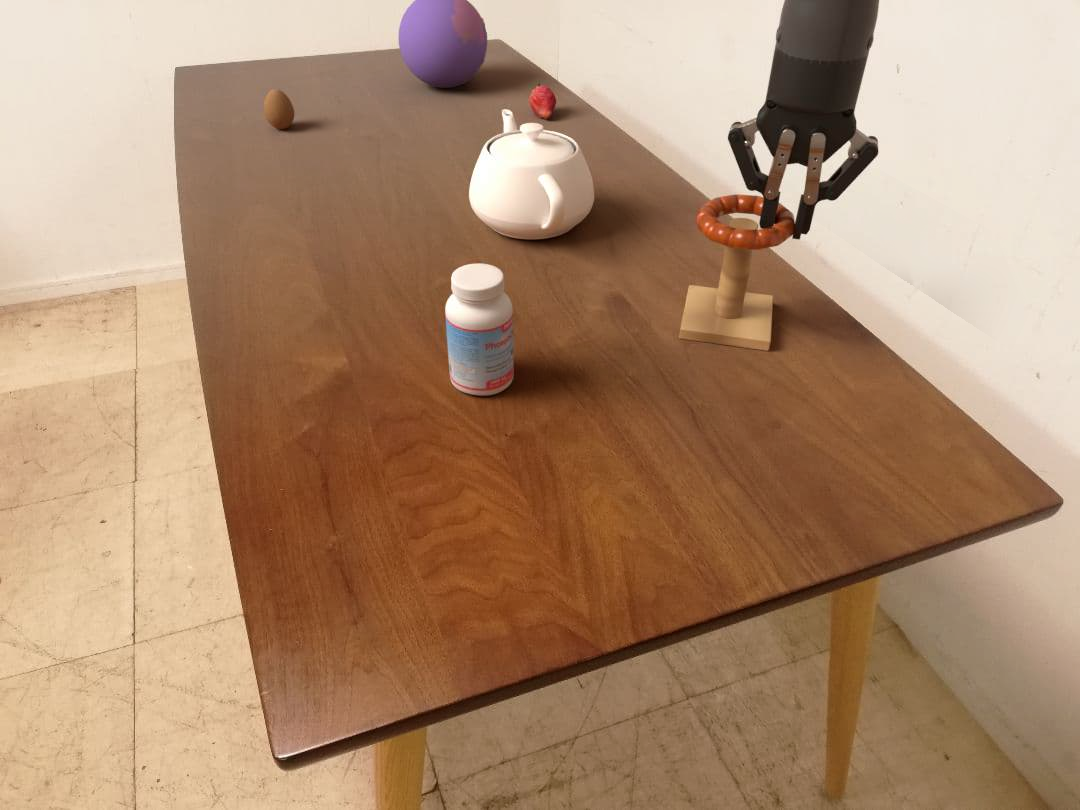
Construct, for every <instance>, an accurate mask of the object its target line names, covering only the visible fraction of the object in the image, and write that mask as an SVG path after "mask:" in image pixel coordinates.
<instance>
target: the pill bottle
mask: <svg viewBox="0 0 1080 810" xmlns="http://www.w3.org/2000/svg"><path fill="white" fill-rule="evenodd" d="M450 283H451V285H450V286H451V287H450V289H451V292H452V294H450V296H449V297H448V298H447V301H446V303H445V307H444V312H445V326H446V327H445V329H446V330H445V331H446V343H447V357H448V370H449V371H448V372H449V379H450V382H451V384H452V385H453V387H454V388H456V389H457V391H460V392H462V393H464V394H466V395H472V396H480V397H486V396H494V395H496V394H499V393H501V392H503V391H505V390H506V389H507V388H508V387H510V386H511V384H512V382H513V380H514V376H515V367H514V365H515V364H514V363H515V361H514V352H515V351H514V311H513V310H514V309H513V303H512V301H511V298H510V297H509V295H507V293H505V292H504V291H505V275H504V273H503V271H502V270H501V269H500V268H499V267H496V266H495V265H492V264H488V263H468V264H465V265H461V266H460V267H458V268H456V269H455V270H454V271H453V272H452V274H451V276H450Z"/></svg>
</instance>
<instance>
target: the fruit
mask: <svg viewBox="0 0 1080 810" xmlns="http://www.w3.org/2000/svg"><path fill="white" fill-rule="evenodd" d="M556 104H557V98H556V95H555V93H554V92H553V90H552V89H551V88H550V87H549V86H546V85H542V84H541V80H539V81H538V82H537V86H536V88H534V89H532V90H531V93H530V96H529V106H530V108H531V110H532V112H533V113H534V114H535V116H538V118H540V119H543V120H548V119H550V118H551V116H552V114H553V111H554V109H555V108H556Z"/></svg>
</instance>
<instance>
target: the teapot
mask: <svg viewBox="0 0 1080 810" xmlns="http://www.w3.org/2000/svg"><path fill="white" fill-rule="evenodd" d="M501 116H502V120H503V132H501V133H498V134H496V135H494V136H492V137H491V138H490V139H488V140H487V141H486V142H485V144H484V145H483V146H482V149H481V151H480V154H479V155H478V158H477V160H476V162H475V166H474V169H473V171H472V174H471V179H470V183H469V188H468V200H469V203H470V207H471V209H472V211H473V212H474V214H475V215H476V217H477V218H478V219H479V220H480V221H482V222H483V223H484V224H485V225H486V226H488V227H490V229H491V230H493V231H494V232H496V233H498V234H500V235H503V236H506V237H509V238H514V239H520V240H545V239H550V238H554V237H558V236H561V235H564V234H565V233H568V232H569V231H570V230H572V229H574V227H575V226H577V225H579V224H580V223H581V222H583V221H584V220H585V218H586V217H587V216H588V215H589V214H590V213H591V210H592V208H593V205H594V203H595V202H594V201H595V189H594V182H593V177H592V175H591V171H590V169H589V166H588V163H587V161H586V159H585V156H584V153H583V151H582V149H581V147H580V146H579V144H578V142H577V141H575V140H574V139H573V138H572V137H570V136H568V135H566V134H563V133H561V132H557V131H552V130H547V129H544V125H542V124H541V123H537V122H526V123H523V124H521V125H520V126H519V128H518V126H517V122H516V120H515V119H516V118H515V115H514V113H513V112H512V111H511V109H507V108H504V109H502V110H501Z"/></svg>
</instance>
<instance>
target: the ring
mask: <svg viewBox="0 0 1080 810" xmlns="http://www.w3.org/2000/svg"><path fill="white" fill-rule="evenodd" d="M763 201H764V197H763V196H760V195H751V194H737V193H735V194H730V195H729V194H728V195H724V196H717V197H714V198H712V199H710V200H709V201H707V202H706V203H704V204H703V205H701V206H700V207H699V209H698V211H697V215H696V216H697V217H696V228H697V229H698V230H699V231H700V232H701V233H702V234H703V236H705V237H706V238H707V239H708V240H709V241H711V242H714V243H716V244H719V245H722V246H724V247H725V246H727V247H730V248H738V249H750V250H754V251H757V250H764V249H768V248H774V247H778V246H780V245H782V244H783V243H784V242H785V241H787V240H788V239H790V238H791V237H793V233H794V229H795V220H796V218H795V215H794V213H793V212H792V211H791V210H789V208H787V207H786V206H784V205H783V204H782V203H781V202H779V204H778V208H777V213H776V218H775V223H774V226H772V227H770V228H764V229H762V228H758V230H748V229H736V228H733V227H731V226H729V224H725V223H722V222H720V221H719V220H718V218H720V217H721V216H726V215H732V214H746V215H755V216H757V217H761V211H762V206H763Z"/></svg>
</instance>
